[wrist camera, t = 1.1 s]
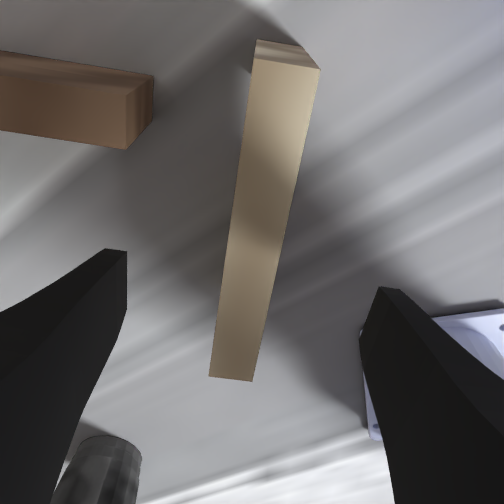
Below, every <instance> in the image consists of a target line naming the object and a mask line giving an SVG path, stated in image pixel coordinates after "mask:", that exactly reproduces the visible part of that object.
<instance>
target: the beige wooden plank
mask: <svg viewBox="0 0 504 504" xmlns="http://www.w3.org/2000/svg"><path fill="white" fill-rule="evenodd" d="M320 71H321V69H320V68H319V67H318V65H317V64H316V63H315V62H314V60H313V59H312V58H311V57H310V56H309V54H308V53H307V52H306V51H305V49H304V48H303V47H299V46H294V45H288V44H282V43H276V42H270V41H265V40H259V39H257V40H256V47H255V54H254V60H253V67H252V74H251V81H250V88H249V95H248V102H247V109H246V116H245V124H244V131H243V138H242V145H241V152H240V159H239V166H238V173H237V180H236V187H235V194H234V201H233V208H232V215H231V222H230V229H229V236H228V243H227V250H226V257H225V264H224V271H223V278H222V285H221V292H220V299H219V306H218V313H217V320H216V327H215V334H214V341H213V348H212V355H211V362H210V369H209V376H210V377H218V378H226V379H234V380H242V381H250V382H252V380H253V376H254V371H255V367H256V362H257V358H258V353H259V349H260V344H261V339H262V335H263V330H264V326H265V321H266V317H267V312H268V308H269V303H270V298H271V294H272V289H273V285H274V280H275V276H276V271H277V267H278V262H279V257H280V253H281V248H282V244H283V239H284V235H285V230H286V226H287V221H288V216H289V212H290V207H291V203H292V198H293V194H294V189H295V184H296V180H297V175H298V171H299V166H300V162H301V157H302V153H303V148H304V143H305V139H306V134H307V130H308V125H309V121H310V116H311V112H312V107H313V102H314V98H315V93H316V89H317V84H318V80H319V75H320Z"/></svg>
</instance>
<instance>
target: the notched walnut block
mask: <svg viewBox="0 0 504 504" xmlns="http://www.w3.org/2000/svg"><path fill="white" fill-rule="evenodd" d="M152 107H153V76H151V75H145V74H139V73H133V72H127V71H121V70H115V69H109V68H103V67H97V66H91V65H85V64H79V63H73V62H67V61H61V60H55V59H49V58H42V57H36V56H30V55H24V54H18V53H12V52H6V51H0V130H2V131H8V132H15V133H21V134H28V135H34V136H40V137H47V138H53V139H60V140H66V141H73V142H79V143H86V144H92V145H99V146H105V147H112V148H118V149H125V150H126V149H127V148H128V147H129V146H130V145H131V144H132V142H133V141H134V140H135V139H136V138H137V137H138V136H139V135H140V134H141V133H142V131H143V130H144V129H145V128H146V127H147V126H148V125H149V124H150V123H151V121H152Z"/></svg>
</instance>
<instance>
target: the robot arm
mask: <svg viewBox="0 0 504 504" xmlns="http://www.w3.org/2000/svg"><path fill="white" fill-rule="evenodd" d="M126 310H127V251H121V250H113V249H106V248H105V249H103V250H102V251H100V252H98V253H97V254H96V255H94V256H93V257H91V258H90V259H88V260H87V261H85V262H84V263H82V264H81V265H79V266H78V267H77V268H75V269H74V270H72V271H71V272H69V273H67V274H66V275H64V276H63V277H61V278H60V279H58V280H57V281H55V282H54V283H52V284H50V285H49V286H47V287H45V288H44V289H42V290H40V291H38V292H37V293H35V294H33V295H32V296H30V297H28V298H26V299H25V300H23V301H21V302H19V303H17V304H16V305H14V306H12V307H10V308H8V309H6V310H4V311H2V312H0V504H50V502H51V499H52V496H53V493H54V490H55V487H56V484H57V481H58V478H59V475H60V472H61V469H62V466H63V463H64V460H65V457H66V455H67V452H68V449H69V446H70V444H71V441H72V438H73V435H74V433H75V430H76V427H77V424H78V422H79V419H80V417H81V415H82V412H83V410H84V408H85V405H86V403H87V401H88V399H89V397H90V395H91V393H92V391H93V389H94V387H95V385H96V383H97V381H98V379H99V376H100V374H101V372H102V370H103V368H104V366H105V364H106V362H107V360H108V358H109V356H110V354H111V351H112V349H113V347H114V345H115V343H116V341H117V338H118V335H119V332H120V329H121V326H122V323H123V320H124V317H125V314H126ZM502 324H504V308H502V309H495V310H487V311H480V312H472V313H465V314H457V315H450V316H443V317H435V318H431V317H430V316H429V315H427V314H426V313H425V312H424V311H423V310H422V309H421V308H420V307H419V306H418V305H417V304H416V303H415V302H414V301H413V300H411V299H410V298H409V297H408V296H407V295H406V294H405V293H403V292H402V291H401V290H400V289H393V288H386V287H379V288H378V290H377V293H376V296H375V298H374V301H373V304H372V306H371V309H370V311H369V314H368V317H367V319H366V322H365V325H364V327H363V329H362V330H361V331H360V338H359V344H360V353H361V360H362V367H363V377H364V388H365V399H366V410H367V420H368V431H369V436H370V438H371V439H372V440H383V443H384V447H385V451H386V455H387V460H388V466H389V471H390V477H391V483H392V488H393V494H394V501H395V504H504V325H502ZM501 325H502V326H501Z"/></svg>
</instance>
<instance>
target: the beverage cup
mask: <svg viewBox="0 0 504 504" xmlns="http://www.w3.org/2000/svg"><path fill="white" fill-rule="evenodd" d="M141 461H142V457H141V454H140V452H139V451H138V449H137V448H136V447H135V446H134V445H132V444H131V443H129V442H128V441H125V440H122V439H120V438H116V437H111V436H96V437H92V438H88V439H87V440H85V441H83V442H82V443H81V445H80V446H79V447H78V450H77V452H76V454H75V456H74V457H73V459H72V461H71V463H70V464H69V465H68V467H67V468H66V470H65V472H64V474H63V476H62V478H61V480H60V482H59V484H58V486H57V488H56V490H55V492H54V493H53V496H52V499H51V502H50V504H135V503H136V497H137V491H138V485H139V474H140V466H141Z"/></svg>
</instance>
